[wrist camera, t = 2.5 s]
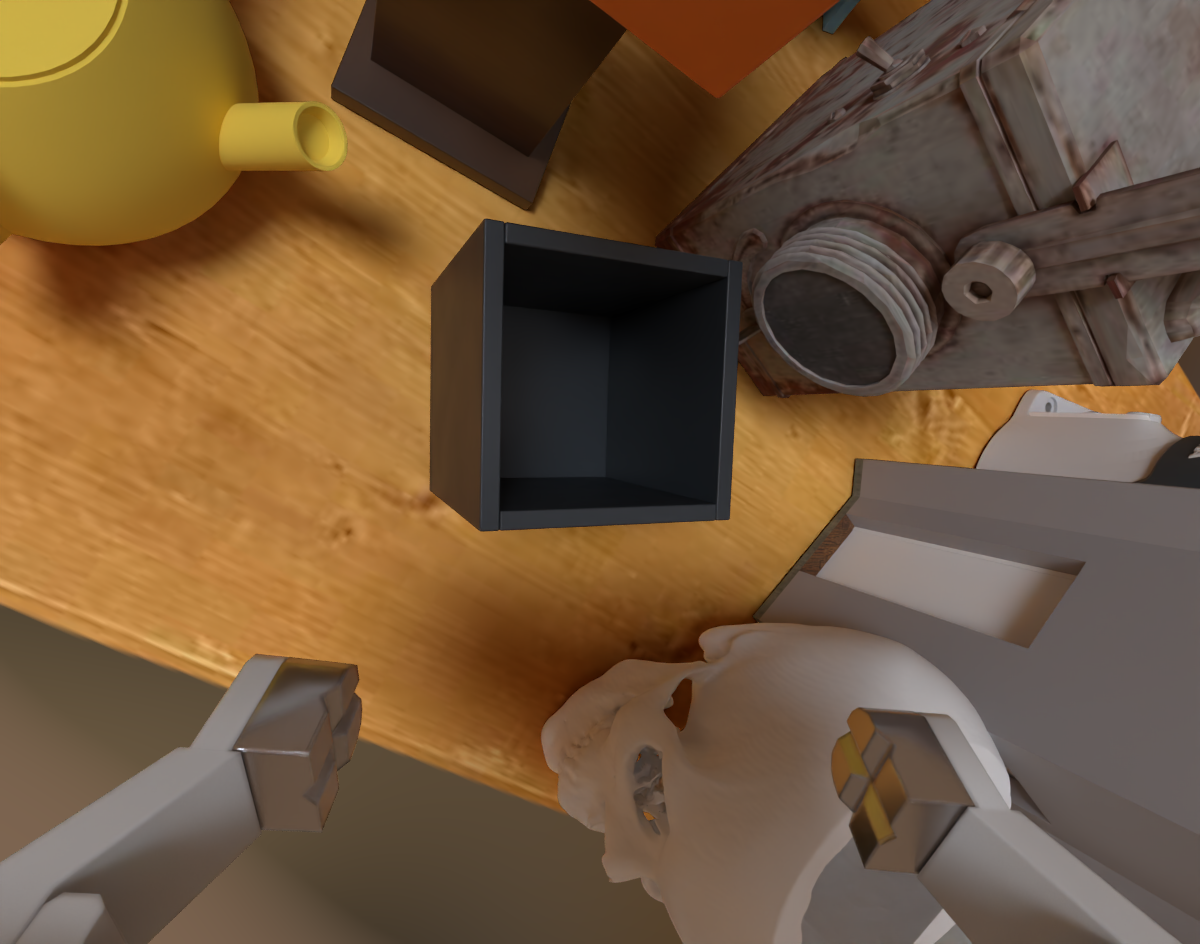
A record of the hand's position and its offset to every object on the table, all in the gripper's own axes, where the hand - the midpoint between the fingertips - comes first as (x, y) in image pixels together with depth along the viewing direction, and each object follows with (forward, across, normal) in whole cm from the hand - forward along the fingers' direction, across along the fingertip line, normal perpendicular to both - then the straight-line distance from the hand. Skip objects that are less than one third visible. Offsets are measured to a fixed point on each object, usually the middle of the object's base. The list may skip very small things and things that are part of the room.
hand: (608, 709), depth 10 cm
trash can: (+24, +3, +5) cm, 24 cm away
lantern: (+36, -13, -5) cm, 39 cm away
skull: (+20, -4, +23) cm, 31 cm away
